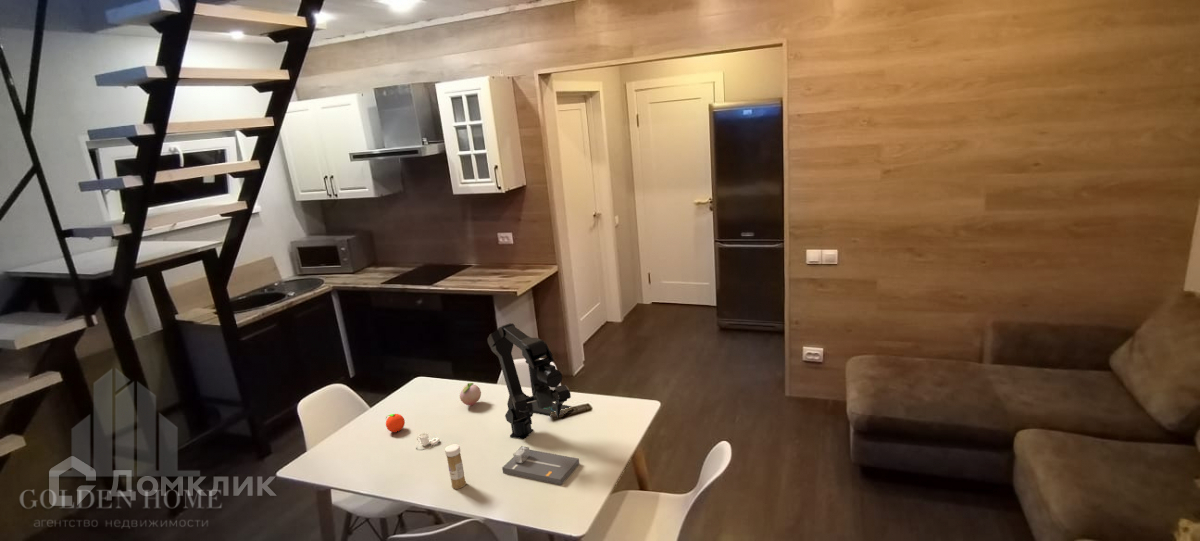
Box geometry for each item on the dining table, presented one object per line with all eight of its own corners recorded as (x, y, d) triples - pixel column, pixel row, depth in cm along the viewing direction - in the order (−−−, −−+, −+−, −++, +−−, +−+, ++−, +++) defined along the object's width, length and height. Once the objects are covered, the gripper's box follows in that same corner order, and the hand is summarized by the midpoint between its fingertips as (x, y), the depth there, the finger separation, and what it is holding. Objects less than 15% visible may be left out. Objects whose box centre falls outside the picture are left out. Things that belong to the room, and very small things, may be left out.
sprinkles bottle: (449, 486, 184) (441, 448, 181) (460, 479, 188) (453, 442, 184) (457, 491, 181) (450, 453, 178) (469, 483, 185) (462, 446, 181)
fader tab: (514, 462, 190) (513, 453, 189) (522, 453, 194) (521, 446, 193) (522, 463, 188) (520, 455, 188) (530, 455, 193) (529, 447, 192)
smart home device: (560, 415, 220) (519, 407, 230) (561, 419, 220) (520, 411, 231) (572, 406, 226) (532, 398, 237) (573, 410, 227) (533, 402, 237)
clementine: (381, 434, 223) (378, 417, 221) (394, 425, 229) (390, 409, 228) (398, 436, 220) (394, 419, 218) (410, 427, 226) (406, 411, 225)
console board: (503, 472, 188) (502, 467, 188) (523, 453, 199) (522, 447, 198) (561, 485, 178) (560, 479, 178) (579, 463, 189) (578, 458, 188)
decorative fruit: (480, 409, 235) (476, 387, 232) (460, 411, 235) (456, 389, 232) (484, 399, 244) (481, 377, 241) (465, 401, 244) (461, 379, 242)
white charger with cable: (443, 441, 214) (441, 431, 213) (428, 453, 207) (426, 442, 206) (424, 438, 217) (422, 428, 216) (410, 449, 210) (408, 439, 209)
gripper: (515, 394, 180) (521, 438, 184) (572, 381, 185) (577, 424, 189) (509, 380, 190) (515, 422, 194) (563, 368, 196) (568, 409, 200)
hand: (544, 420), depth 194 cm, fingers open, 9 cm apart
